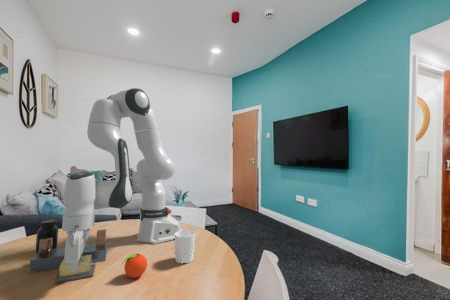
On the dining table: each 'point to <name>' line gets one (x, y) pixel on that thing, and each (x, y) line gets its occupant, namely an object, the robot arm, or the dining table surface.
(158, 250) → the dining table surface
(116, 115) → the robot arm
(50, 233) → the supplement bottle
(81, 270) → the lever cap
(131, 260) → the clementine
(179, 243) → the white cup
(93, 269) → the mat
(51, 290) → the dining table surface
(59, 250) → the body
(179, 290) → the dining table surface
